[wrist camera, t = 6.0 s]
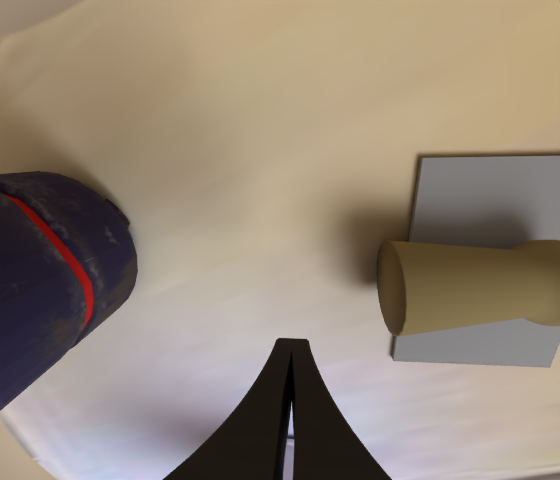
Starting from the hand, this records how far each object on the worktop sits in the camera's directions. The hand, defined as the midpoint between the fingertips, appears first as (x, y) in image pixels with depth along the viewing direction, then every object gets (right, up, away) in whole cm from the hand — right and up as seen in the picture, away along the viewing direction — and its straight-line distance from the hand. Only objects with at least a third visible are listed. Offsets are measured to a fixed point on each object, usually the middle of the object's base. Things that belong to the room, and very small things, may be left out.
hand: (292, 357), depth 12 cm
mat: (+15, +3, +8) cm, 17 cm away
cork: (+6, +2, +5) cm, 9 cm away
